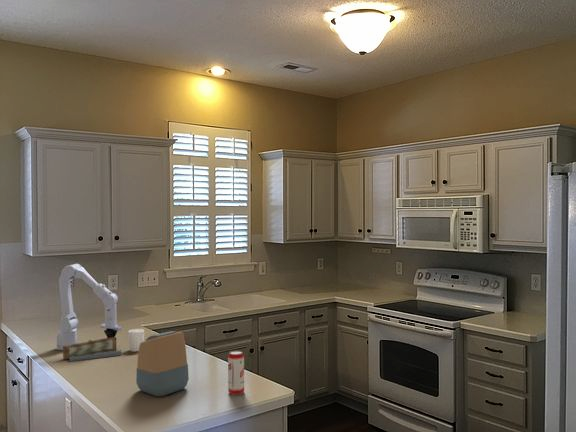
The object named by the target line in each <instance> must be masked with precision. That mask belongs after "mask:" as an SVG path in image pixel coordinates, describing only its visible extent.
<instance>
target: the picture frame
mask: <svg viewBox="0 0 576 432" xmlns="http://www.w3.org/2000/svg"><path fill="white" fill-rule="evenodd" d="M115 350H118V349H117V337H116V336H115V337H111V338H107V337H106V338H101V339H95V340H88V341H85V342H77V344H71V345H66V346H63V350H62V359H64V360H68V359H69V356H71V355H80V354H89V353H97V352H106V351H115Z"/></svg>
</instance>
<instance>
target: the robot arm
mask: <svg viewBox="0 0 576 432" xmlns="http://www.w3.org/2000/svg"><path fill="white" fill-rule="evenodd" d="M60 271H61V274H60V276H59V278H58V286H59V296H60V307H61V313H62V314H61V317H60V319H59V320H60V322H59V326H58V327H59V331H58V332H57V334H56V348H55V350H57V351H58V350H59V351H63V346H66V345H71V344H77V343H78V339H77V335H78V334H77V333H78V331H77V328H78V327H79V326H80V325H79V324H80V323H79V322H80V321H79V319H78V318H77V314H76V313H75V311H74V305H73V303H74V302H73V296H72V289H71V288H72V287H71V282H72V281H73V280H74V279H82V280H83V281H84V282H85V283H86V284H87V285H89V286H90V287H91V288H92V289H93V290H92V291H93V293H94V294H95V295H97V296H98V297H99V298H100V299H101V301H102V304H103V305H104V323H101V324H100V329H104V330H103V331H104V332H103V333H104V334H105V336H106V338H111V337H116V335H117V333H118V332H121V331H122V329H123V327H122V326H119V325H118V324H117V323H118V321H117V319H118V318H117V315H118V314H117V312H118V311H117V309H118V308H117V302H118V301H119V297H118V295H117V293H115V292H112V291H111V290H109V289H108V288H107V287H106V284H103V283H98V282H97V281H96V280H95V278H93V277H92V276H91V275H90V273H89V272H88V271H86V269H85V268H84V267H83V266H82V265H81V264H79V263H74V264H70V265H69V264H68V265H66V266H64V267H63V268H62V269H61V270H60Z"/></svg>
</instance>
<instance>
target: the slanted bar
mask: <svg viewBox="0 0 576 432" xmlns="http://www.w3.org/2000/svg"><path fill="white" fill-rule="evenodd" d="M122 354H123V353H122V349H115V350H110V351H105V352H97V353H89V354H80V355H71V356H69V360H68V361H69V362H76V361H77V362H78V361H84V360H92V359H94V360H95V359H101V358H109V357H118V356H122Z"/></svg>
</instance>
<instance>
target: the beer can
mask: <svg viewBox="0 0 576 432" xmlns="http://www.w3.org/2000/svg"><path fill="white" fill-rule="evenodd" d="M227 367H228V368H227V371H228V373H227V377H228V380H227V381H228V382H227V383H228V385H227V388H228V393H229V394H230V395H232V396H240V395H242V394H243V393H244V392H245V356H244V354H243V351H241V350H231V351H229V354H228V356H227ZM239 394H240V395H239Z"/></svg>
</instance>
